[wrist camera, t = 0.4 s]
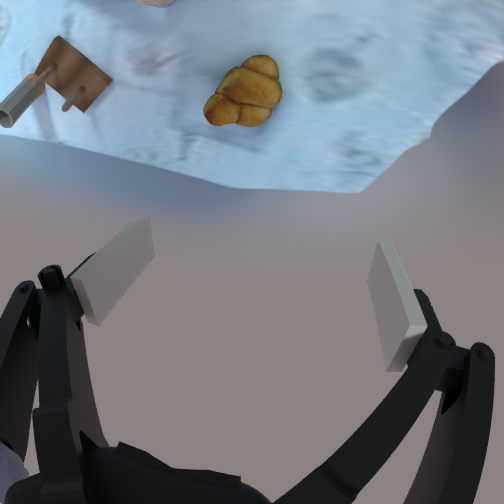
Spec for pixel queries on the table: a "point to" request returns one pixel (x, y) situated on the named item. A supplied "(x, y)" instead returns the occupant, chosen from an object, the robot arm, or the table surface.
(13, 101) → the sleeve
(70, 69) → the pin board
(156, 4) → the spoon rest
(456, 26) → the table surface
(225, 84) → the bread roll
